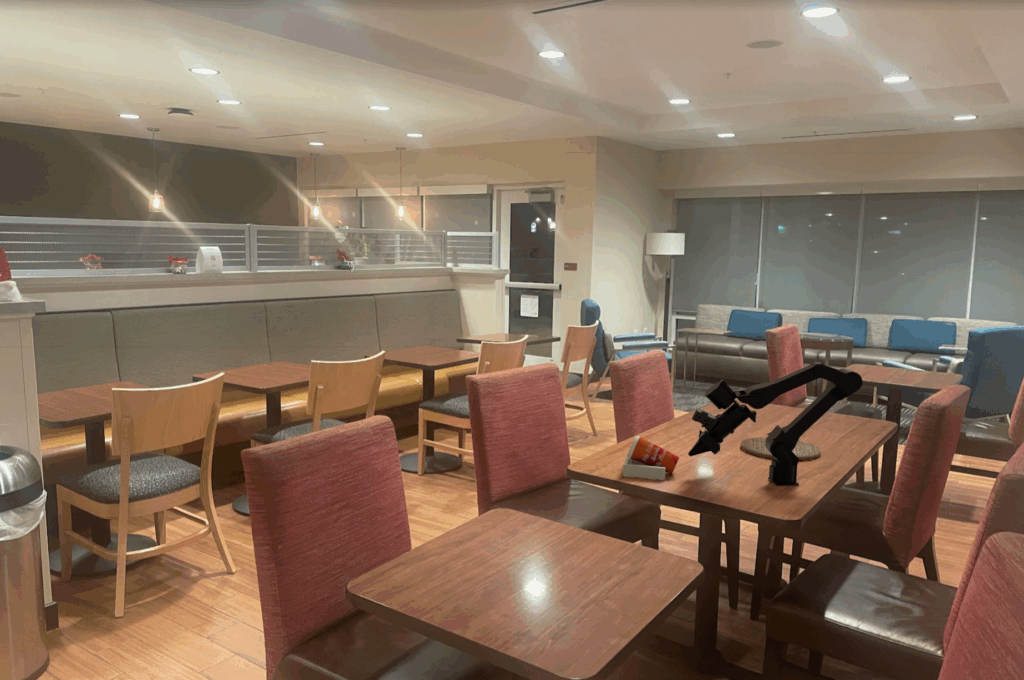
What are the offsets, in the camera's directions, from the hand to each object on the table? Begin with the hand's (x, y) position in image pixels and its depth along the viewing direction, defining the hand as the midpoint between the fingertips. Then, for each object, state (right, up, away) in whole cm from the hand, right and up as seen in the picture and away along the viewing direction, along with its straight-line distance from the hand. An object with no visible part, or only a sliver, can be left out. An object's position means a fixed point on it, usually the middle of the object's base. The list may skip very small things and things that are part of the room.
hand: (689, 455), depth 205 cm
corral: (-11, -6, +4) cm, 13 cm away
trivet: (+38, -4, +30) cm, 48 cm away
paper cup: (-3, -3, +1) cm, 5 cm away
